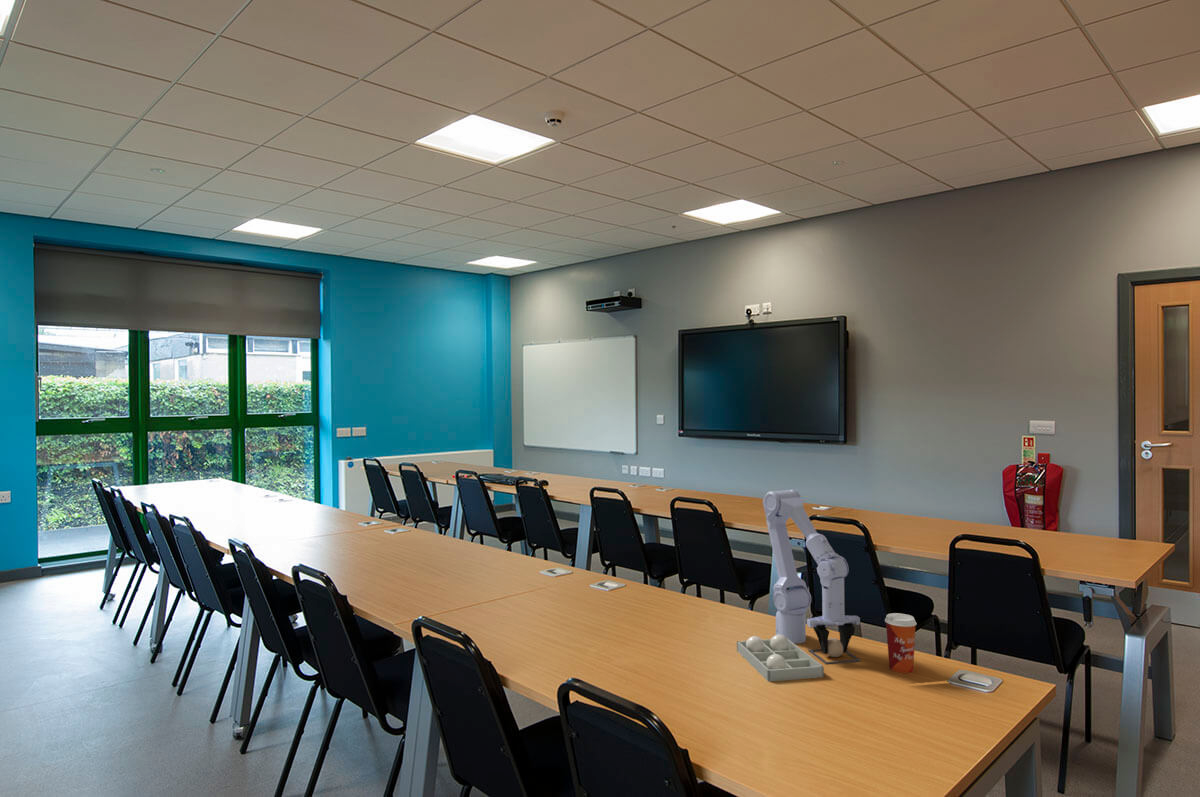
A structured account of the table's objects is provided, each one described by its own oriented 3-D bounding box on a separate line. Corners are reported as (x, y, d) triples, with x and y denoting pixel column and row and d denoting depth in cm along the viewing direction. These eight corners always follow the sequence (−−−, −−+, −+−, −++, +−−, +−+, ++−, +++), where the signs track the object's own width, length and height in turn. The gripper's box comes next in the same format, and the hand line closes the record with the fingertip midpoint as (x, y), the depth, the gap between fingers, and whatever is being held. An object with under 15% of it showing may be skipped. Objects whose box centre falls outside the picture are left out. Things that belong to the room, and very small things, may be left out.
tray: (736, 653, 195) (736, 641, 195) (786, 650, 198) (786, 637, 198) (768, 684, 173) (768, 670, 173) (823, 680, 176) (823, 666, 176)
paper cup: (898, 678, 177) (897, 622, 177) (878, 667, 184) (878, 613, 184) (924, 674, 179) (923, 619, 179) (904, 663, 186) (903, 611, 186)
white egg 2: (767, 650, 195) (767, 632, 195) (784, 649, 196) (784, 631, 196) (774, 656, 190) (774, 638, 190) (792, 655, 191) (791, 637, 191)
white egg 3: (763, 671, 180) (762, 651, 180) (781, 669, 181) (781, 650, 181) (771, 678, 175) (770, 658, 175) (789, 677, 176) (789, 657, 176)
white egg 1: (743, 652, 194) (743, 634, 194) (760, 650, 195) (760, 632, 195) (749, 658, 189) (749, 640, 189) (767, 657, 190) (767, 638, 190)
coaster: (808, 653, 194) (808, 649, 194) (841, 651, 196) (841, 647, 196) (825, 667, 184) (825, 662, 184) (860, 664, 186) (860, 660, 186)
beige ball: (821, 654, 192) (820, 636, 192) (838, 652, 193) (837, 634, 193) (829, 660, 187) (829, 642, 187) (847, 659, 188) (846, 640, 188)
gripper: (815, 607, 185) (815, 659, 185) (865, 604, 187) (866, 655, 187) (803, 600, 192) (803, 649, 192) (852, 597, 194) (852, 646, 194)
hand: (833, 652), depth 190 cm, fingers closed on beige ball, 5 cm apart
